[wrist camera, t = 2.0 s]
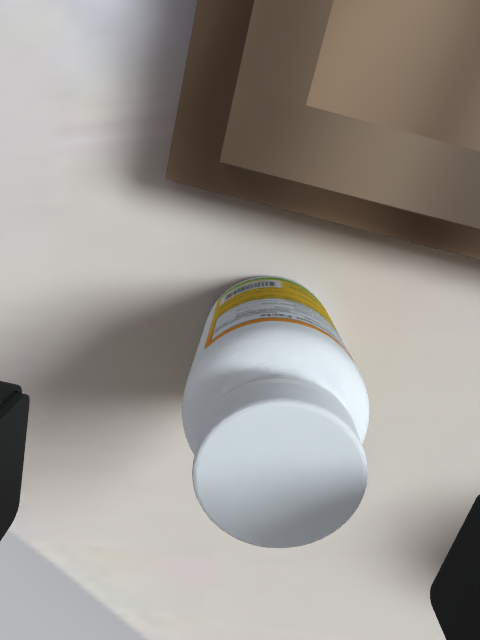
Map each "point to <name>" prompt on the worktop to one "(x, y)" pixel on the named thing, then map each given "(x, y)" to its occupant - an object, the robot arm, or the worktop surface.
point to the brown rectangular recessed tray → (339, 113)
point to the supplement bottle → (275, 417)
